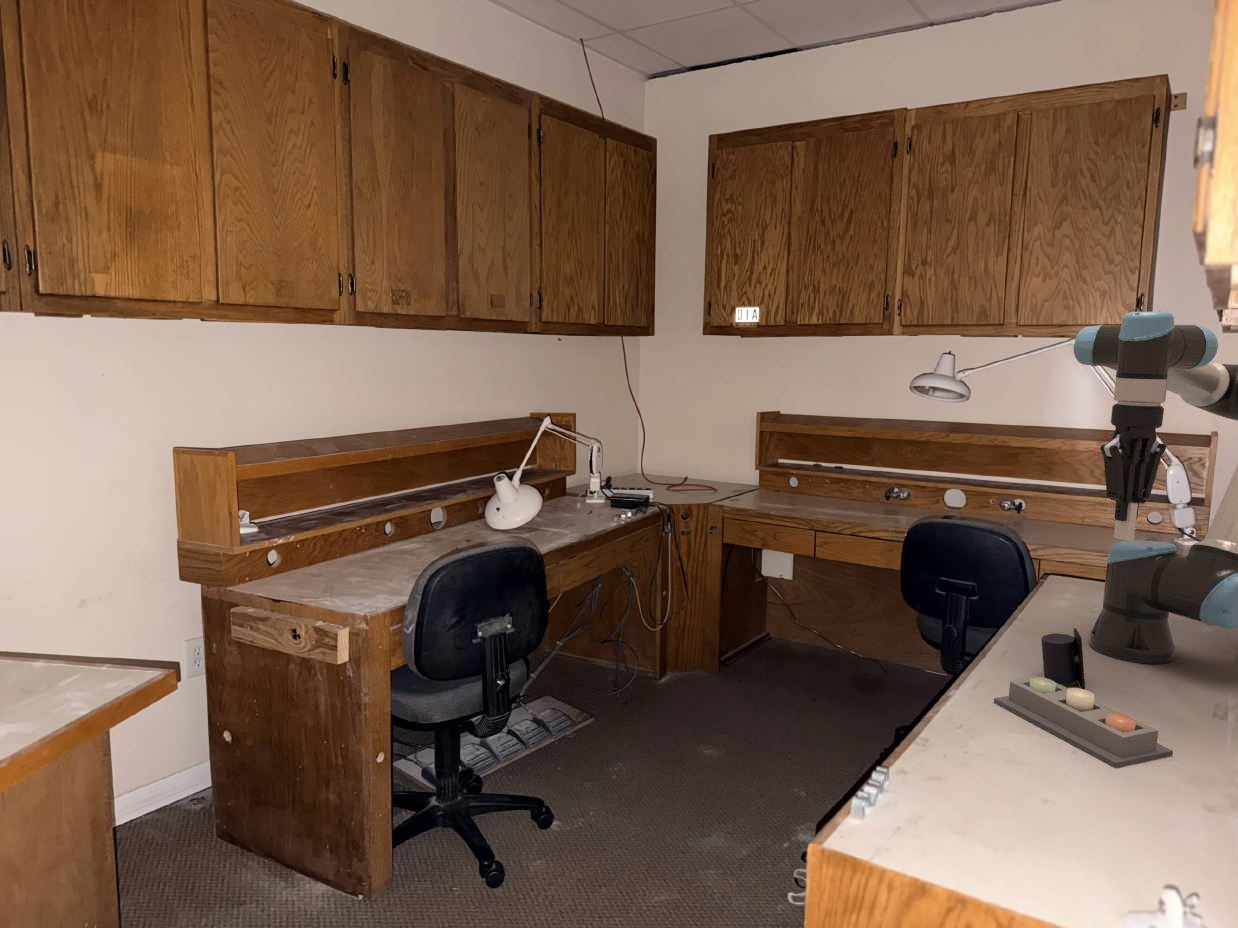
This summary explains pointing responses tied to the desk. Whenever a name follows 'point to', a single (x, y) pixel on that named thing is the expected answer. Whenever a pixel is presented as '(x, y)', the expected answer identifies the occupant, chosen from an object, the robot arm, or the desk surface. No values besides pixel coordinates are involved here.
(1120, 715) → the terracotta button
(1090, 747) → the control panel
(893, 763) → the desk surface
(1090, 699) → the cream button
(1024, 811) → the desk surface
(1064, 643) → the speaker
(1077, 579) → the desk surface
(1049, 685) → the sage button
